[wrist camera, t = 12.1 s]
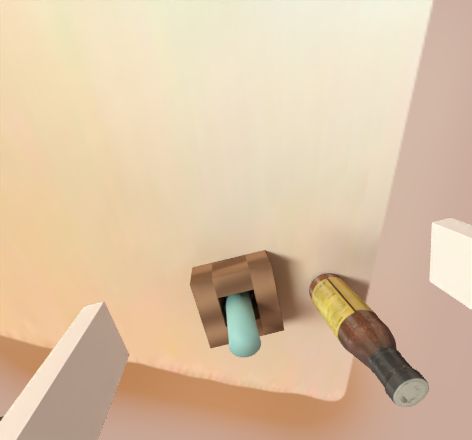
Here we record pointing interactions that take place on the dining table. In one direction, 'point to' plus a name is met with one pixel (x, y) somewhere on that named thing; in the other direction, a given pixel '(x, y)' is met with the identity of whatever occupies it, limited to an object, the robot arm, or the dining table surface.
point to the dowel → (241, 325)
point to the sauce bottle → (367, 339)
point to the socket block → (232, 282)
